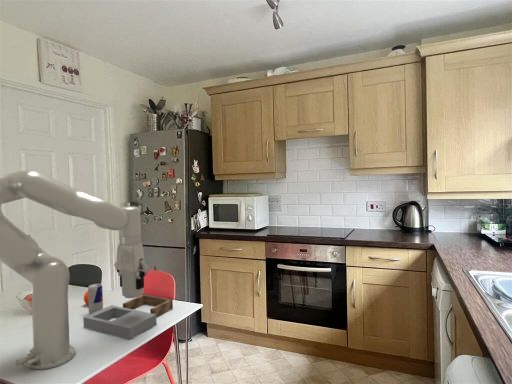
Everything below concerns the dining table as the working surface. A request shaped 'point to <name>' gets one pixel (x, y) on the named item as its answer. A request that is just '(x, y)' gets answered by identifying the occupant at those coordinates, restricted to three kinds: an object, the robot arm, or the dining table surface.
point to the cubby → (151, 304)
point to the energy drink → (95, 298)
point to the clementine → (86, 298)
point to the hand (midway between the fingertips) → (132, 286)
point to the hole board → (120, 321)
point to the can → (130, 284)
